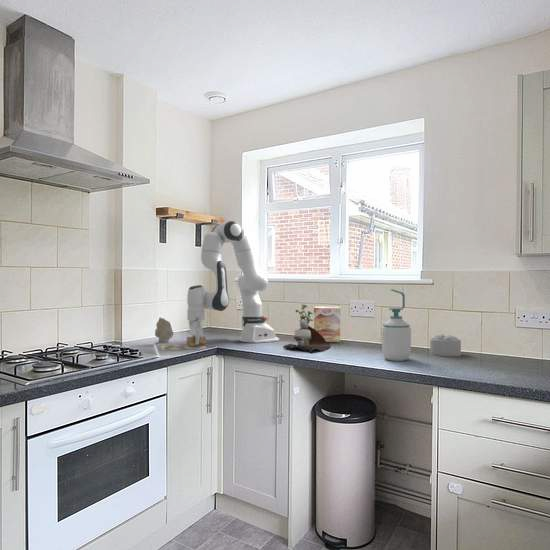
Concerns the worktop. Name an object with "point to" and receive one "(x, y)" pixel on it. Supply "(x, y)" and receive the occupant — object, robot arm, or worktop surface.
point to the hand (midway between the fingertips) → (196, 343)
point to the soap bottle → (396, 336)
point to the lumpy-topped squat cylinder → (445, 346)
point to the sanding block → (192, 341)
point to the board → (179, 347)
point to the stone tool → (163, 330)
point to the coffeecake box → (328, 323)
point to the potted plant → (308, 335)
